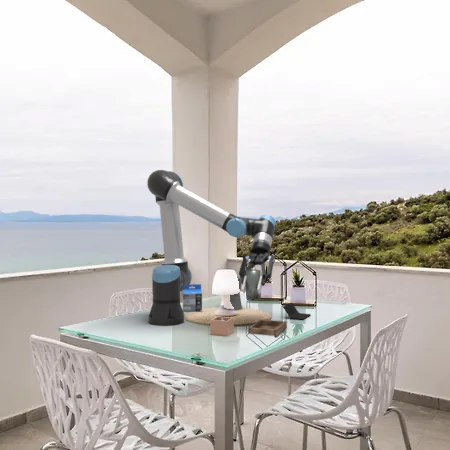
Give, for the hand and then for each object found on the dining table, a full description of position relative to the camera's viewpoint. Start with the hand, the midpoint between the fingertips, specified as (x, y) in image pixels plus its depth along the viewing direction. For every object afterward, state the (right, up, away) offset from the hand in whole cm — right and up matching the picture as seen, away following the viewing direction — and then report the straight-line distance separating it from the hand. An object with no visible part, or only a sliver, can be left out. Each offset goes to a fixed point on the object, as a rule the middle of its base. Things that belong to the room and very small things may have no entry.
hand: (251, 291), depth 201 cm
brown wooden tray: (+7, -16, +1) cm, 17 cm away
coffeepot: (-7, -15, +48) cm, 51 cm away
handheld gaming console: (+22, -15, +27) cm, 38 cm away
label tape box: (-25, -15, +41) cm, 50 cm away
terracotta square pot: (-11, -16, -5) cm, 20 cm away
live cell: (+1, -3, +4) cm, 5 cm away
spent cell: (-11, -15, -5) cm, 20 cm away
